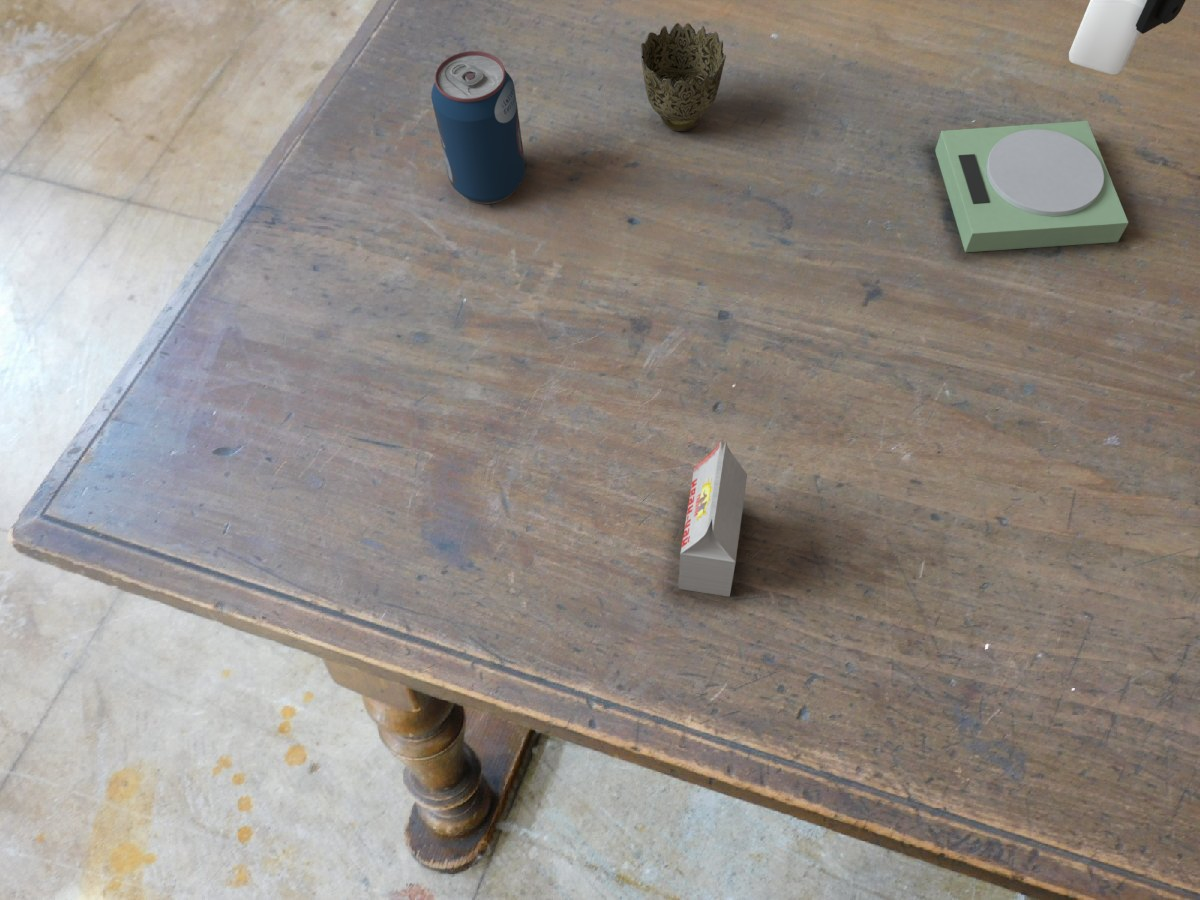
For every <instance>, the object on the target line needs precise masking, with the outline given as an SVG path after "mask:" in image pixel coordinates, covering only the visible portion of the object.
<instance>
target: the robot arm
mask: <svg viewBox="0 0 1200 900" xmlns="http://www.w3.org/2000/svg"><path fill="white" fill-rule="evenodd" d="M1186 1H1187V0H1147V2H1146V4H1145V6H1144V8H1143V10H1142V13H1141V15H1140V17H1139V19H1138V21H1137V23H1136V27H1137V28H1136V30H1138V31H1139V32H1140V34H1142V35H1145V34H1146V33H1147V32H1149V31H1151V30H1153V29H1155V28H1156V27H1158V26H1161V25H1162V24H1164V25H1167V24H1169V23H1171V22H1172V21H1173V20H1175V19H1176V18H1177V17H1178V15H1179V14H1180V12H1181V11H1182V9H1183V7H1184V5H1185V3H1186Z"/></svg>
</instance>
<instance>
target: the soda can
mask: <svg viewBox="0 0 1200 900" xmlns="http://www.w3.org/2000/svg"><path fill="white" fill-rule="evenodd" d="M430 96H431V103H432V107H433V111H434V116H435V121H436V126H437V131H438V135H439V141H440V144H441V149H442V153H443V154H442V155H443V159H444V163H445V167H446V171H447V176H448V180H449V183H450V185H451V186H452V188H453V189H454V190H455V191H456V192H457V193H459V195H461V196H462V197H464V198H465V199H467V200H469V201H471V202H473V203H476V204H482V205H483V204H484V205H491V204H495V203H496V204H497V203H500V202H502V201H504V200H506V199H508V198H509V197H511V196H512V195H513V194H514V193H515V192H516V190H517V189H518V188H519V186H520V185H521V183H522V181H523V179H524V177H525V173H526V161H525V154H524V147H523V145H524V144H523V138H522V132H521V124H520V123H521V122H520V116H519V108H518V101H517V95H516V88H515V83H514V80H513V79H512V77H511V75H510V74H509V73H508V72H507V70H506V69H505V66H504V64H503V63H502V61H501V60H500V59H499V58H497V56H495V55H493V54H491V53H489V52H484V51H478V50H469V51H463V52H458V53H456V54H453V55H450V56H449V57H447V58H446V59H445V60H443V61H442V62H441V63H440V65H439V66H438V67H437V69H436V71H435V74H434V83H433V86H432V89H431V95H430Z"/></svg>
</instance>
